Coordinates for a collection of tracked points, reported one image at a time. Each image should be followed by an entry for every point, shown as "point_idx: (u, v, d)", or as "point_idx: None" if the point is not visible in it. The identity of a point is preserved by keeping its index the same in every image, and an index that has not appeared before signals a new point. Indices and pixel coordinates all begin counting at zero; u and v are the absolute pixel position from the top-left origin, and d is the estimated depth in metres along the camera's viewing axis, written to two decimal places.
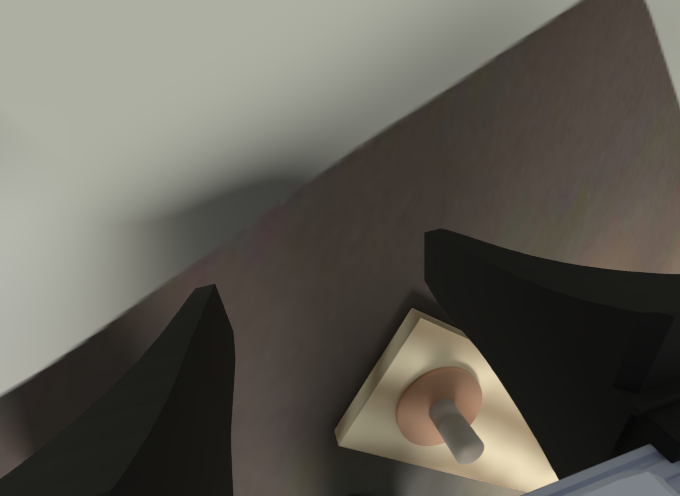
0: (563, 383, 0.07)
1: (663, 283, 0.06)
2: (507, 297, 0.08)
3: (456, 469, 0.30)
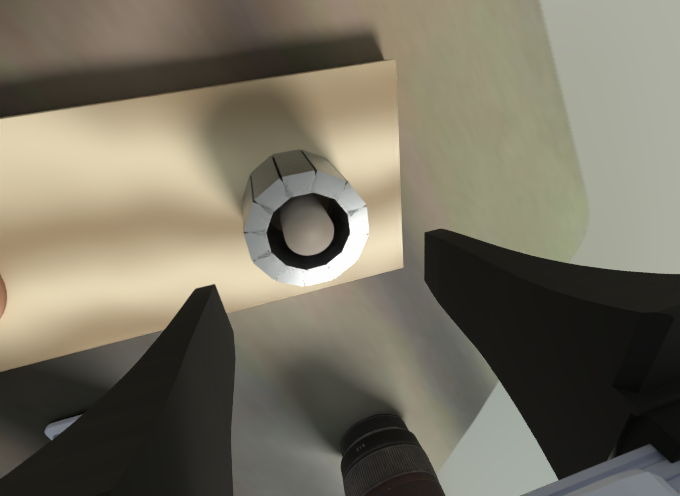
0: (563, 383, 0.07)
1: (663, 283, 0.06)
2: (507, 297, 0.08)
3: (108, 335, 0.19)
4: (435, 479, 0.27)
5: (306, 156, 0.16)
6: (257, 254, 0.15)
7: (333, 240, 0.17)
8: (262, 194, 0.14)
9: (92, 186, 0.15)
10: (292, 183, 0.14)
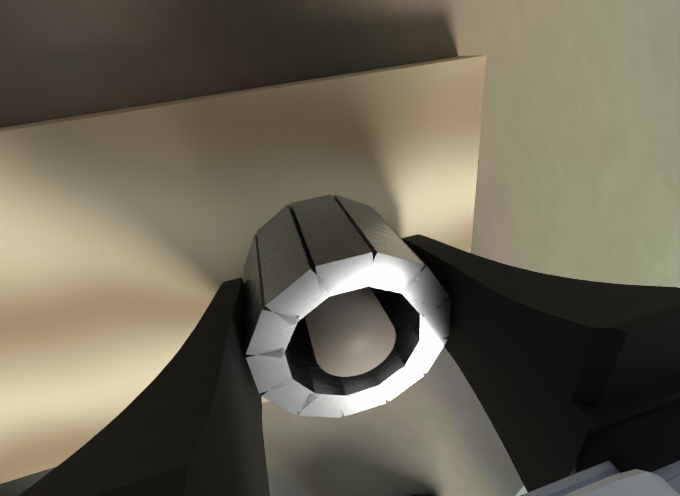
0: (528, 395, 0.07)
1: (624, 295, 0.06)
2: (476, 306, 0.08)
3: (48, 458, 0.13)
4: None
5: (346, 210, 0.10)
6: (269, 383, 0.09)
7: None
8: (279, 296, 0.08)
9: None
10: (333, 275, 0.08)
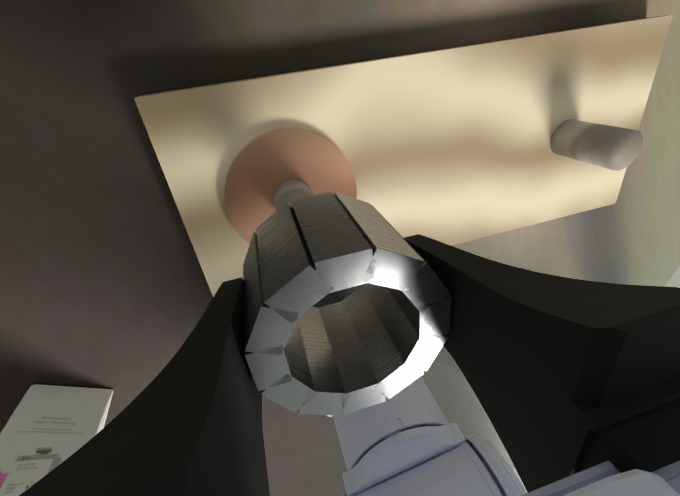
0: (528, 395, 0.07)
1: (624, 295, 0.06)
2: (476, 306, 0.08)
3: None
4: None
5: (345, 207, 0.10)
6: (268, 380, 0.09)
7: (384, 333, 0.11)
8: (278, 292, 0.07)
9: (440, 116, 0.19)
10: (332, 271, 0.08)
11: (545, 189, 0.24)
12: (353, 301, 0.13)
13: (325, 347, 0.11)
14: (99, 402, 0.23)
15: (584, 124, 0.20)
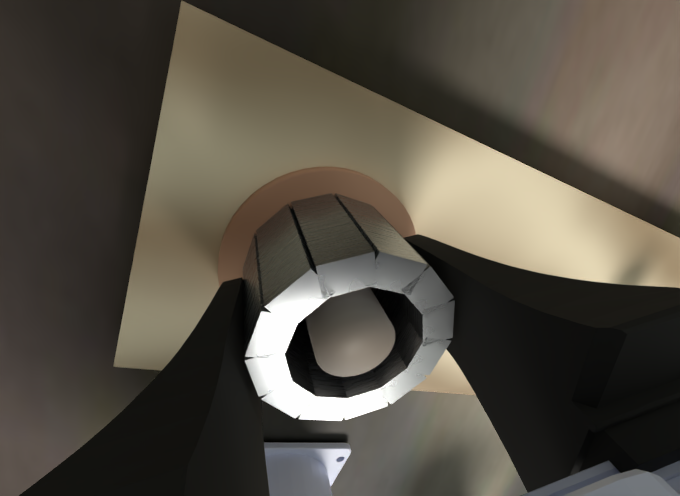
0: (528, 395, 0.07)
1: (624, 295, 0.06)
2: (476, 306, 0.08)
3: None
4: None
5: (347, 209, 0.10)
6: (269, 386, 0.08)
7: None
8: (279, 296, 0.07)
9: (528, 253, 0.15)
10: (334, 275, 0.07)
11: None
12: None
13: None
14: None
15: None
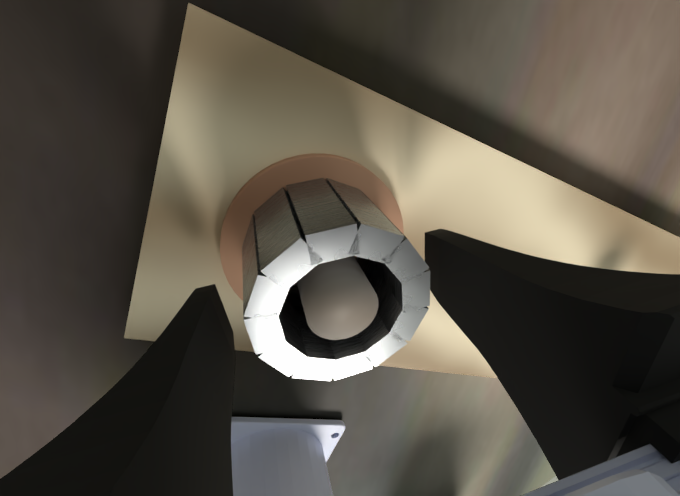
0: (563, 383, 0.07)
1: (663, 283, 0.06)
2: (507, 297, 0.08)
3: None
4: None
5: (336, 191, 0.11)
6: (265, 345, 0.10)
7: None
8: (273, 262, 0.08)
9: (509, 237, 0.16)
10: (321, 244, 0.08)
11: None
12: None
13: None
14: None
15: None
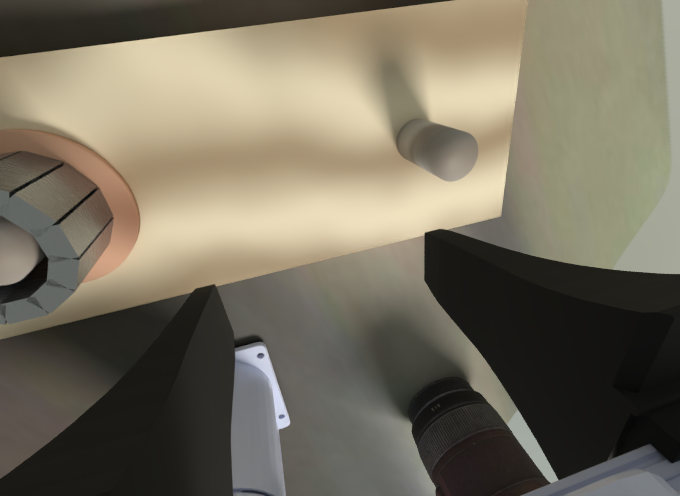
0: (563, 383, 0.07)
1: (663, 283, 0.06)
2: (507, 297, 0.08)
3: (224, 275, 0.19)
4: (514, 437, 0.28)
5: None
6: None
7: None
8: None
9: (235, 113, 0.15)
10: None
11: (404, 201, 0.20)
12: None
13: (47, 273, 0.14)
14: None
15: (423, 124, 0.17)
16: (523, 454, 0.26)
